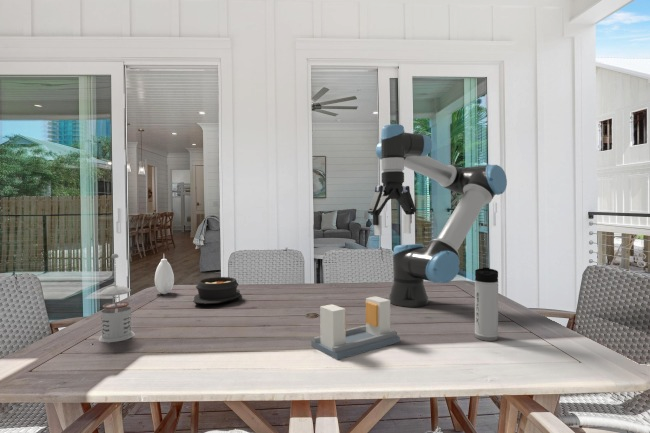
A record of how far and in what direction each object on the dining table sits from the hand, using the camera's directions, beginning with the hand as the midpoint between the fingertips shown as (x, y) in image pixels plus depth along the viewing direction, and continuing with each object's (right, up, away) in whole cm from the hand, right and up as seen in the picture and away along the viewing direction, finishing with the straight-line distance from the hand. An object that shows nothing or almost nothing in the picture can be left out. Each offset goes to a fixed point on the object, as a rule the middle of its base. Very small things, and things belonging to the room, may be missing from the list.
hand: (392, 234), depth 134 cm
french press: (-86, -30, -15) cm, 92 cm away
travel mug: (+24, -29, -19) cm, 42 cm away
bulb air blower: (-94, -28, +41) cm, 107 cm away
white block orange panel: (-8, -28, -20) cm, 35 cm away
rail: (-14, -30, -24) cm, 41 cm away
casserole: (-67, -29, +29) cm, 78 cm away
